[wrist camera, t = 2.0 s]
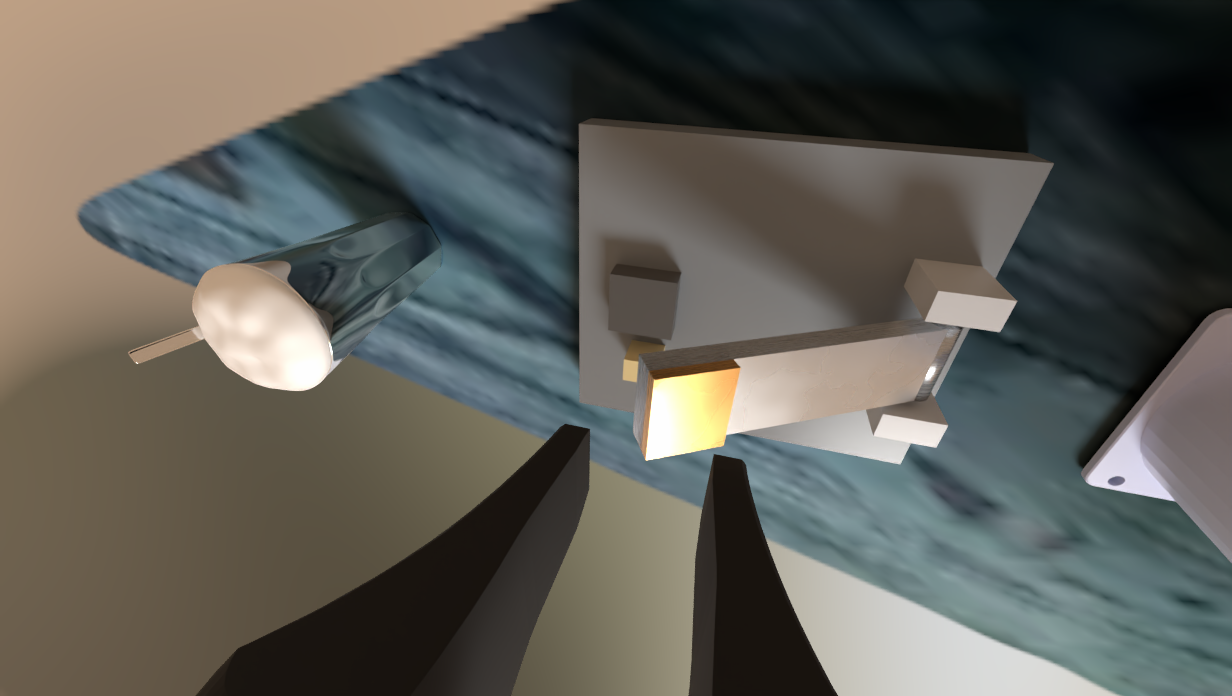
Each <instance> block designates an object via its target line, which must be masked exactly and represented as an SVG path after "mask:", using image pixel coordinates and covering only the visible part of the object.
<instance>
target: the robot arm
mask: <svg viewBox="0 0 1232 696" xmlns="http://www.w3.org/2000/svg"><path fill="white" fill-rule="evenodd" d="M589 460H590V429H588V428H583V427H578V426H573V425H568V424H564V425H563V426H561V427H560V428H559V429H558V430H557V431H556V432H555V433H554V434H553V436H552V437H551V438H550V439H549V440H548V441H547V442H546V443H545V444H544V445H543V446H542V447H541V448H540V449H539V450H538V451H537V452H536V453H535V454H534V455H533V456H532V457H531V458H530V459H529V460H528V461H527V462H526V463H525V464H524V465H523V466H521V467H520V468H519V469H518V470H517V471H516V472H515V473H514V474H513V475H512V476H511V477H510V478H509V479H507V480H506V481H505V482H504V483H503V484H502V485H501V486H500V487H499V488H498V489H496V490H495V491H494V492H493V493H492V494H490V495H489V496H488V497H487V498H486V499H484V500H483V501H482V502H481V503H480V504H478V505H477V506H476V507H475V508H474V509H473V510H471V511H470V512H469V513H468V514H466V515H465V516H464V517H463V518H461V519H460V520H459V521H458V522H456V523H455V524H454V525H452V526H451V527H450V528H449V529H447V530H445V531H444V532H443V533H441V534H440V535H439V536H437V537H436V538H434V539H433V540H432V541H430V542H429V543H427V544H426V545H424V546H423V547H421V548H420V549H418V550H417V551H415V552H414V553H412V554H411V555H409V556H408V557H406V558H405V559H403V560H402V561H400V562H399V563H397V564H396V565H394V566H392V567H391V568H389V569H388V570H386V571H385V572H383V573H381V574H380V575H378V576H376V577H375V578H373V579H371V580H369V581H368V582H366V583H364V584H362V585H360V586H359V587H357V588H355V589H354V590H352V591H350V592H348V593H346V594H345V595H343V596H341V597H339V598H337V599H336V600H334V601H332V602H330V603H329V604H327V605H325V606H323V607H322V608H320V609H318V610H316V611H314V612H312V613H310V614H308V615H306V616H304V617H302V618H300V619H298V620H296V621H294V622H292V623H290V624H288V625H286V626H283V627H281V628H279V629H277V630H275V631H273V632H271V633H270V634H267V635H265V636H263V637H261V638H259V639H257V640H255V641H253V642H251V643H249V644H246V645H244V646H242V647H240V648H238V649H237V650H236V651H235V652H234V653H233V654H232V655H231V657H229V659H228V660H227V661H226V662H225V663H224V664H223V665H222V666H221V667H220V668H219V669H218V670H217V671H216V672H215V673H214V675H213V676H212V677H211V678H210V679H209V681H208V682H207V683H206V684H205V685H204V686H203V688H202V689H201V690H200V691H199V693H198V694H197V695H196V696H511V694H512V690H513V687H514V684H515V681H516V678H517V675H518V672H519V669H520V666H521V663H522V660H523V657H524V654H525V652H526V649H527V646H528V643H529V640H530V637H531V634H532V632H533V629H534V627H535V624H536V622H537V619H538V617H539V614H540V612H541V610H542V607H543V605H544V603H545V600H546V598H547V596H548V593H549V591H550V589H551V587H552V584H553V582H554V580H555V578H556V575H557V573H558V571H559V568H560V566H561V564H562V562H563V559H564V557H565V555H566V553H567V550H568V548H569V546H570V543H571V541H572V539H573V536H574V534H575V532H576V529H577V526H578V523H579V520H580V517H581V514H582V510H583V507H584V504H585V500H586V497H587V494H588V491H589ZM1081 474H1082V477H1083V478H1084V480H1085V481H1086V482H1087V483H1088V484H1090V485H1093V486H1097V487H1102V488H1107V489H1113V490H1118V491H1123V492H1129V493H1134V494H1139V495H1145V496H1150V497H1155V498H1160V499H1166V500H1171V501H1176V502H1177V503H1178V504H1179V505H1180V507H1181V508H1182V509H1183V510H1184V511H1185V512H1186V513H1187V514H1188V515H1189V516H1190V518H1191V519H1192V520H1193V521H1194V522H1195V523H1196V524H1197V525H1198V526H1199V527H1200V529H1201V530H1202V531H1203V532H1204V533H1205V534H1206V535H1207V536H1208V537H1209V539H1210V540H1211V541H1212V542H1213V543H1214V544H1215V545H1216V546H1217V547H1218V548H1219V550H1220V551H1221V552H1222V553H1223V554H1224V555H1225V556H1226V557H1227V558H1228V559H1229V561H1230V562H1231V563H1232V308H1226V309H1222V310H1218V311H1216V312H1214V313H1212V314H1210V315H1209V316H1208V317H1206V318H1205V319H1204V320H1203V322H1202V323H1201V324H1200V325H1199V327H1198V328H1197V329H1196V330H1195V331H1194V333H1193V334H1192V335H1191V336H1190V338H1189V339H1188V340H1187V341H1186V343H1185V344H1184V345H1183V346H1182V348H1181V349H1180V350H1179V351H1178V352H1177V354H1176V355H1175V356H1174V357H1173V359H1172V360H1171V361H1170V362H1169V364H1168V365H1167V366H1166V367H1165V368H1164V370H1163V371H1162V372H1161V373H1160V375H1159V376H1158V377H1157V378H1156V380H1155V381H1154V382H1153V383H1152V385H1151V386H1150V387H1149V388H1148V389H1147V391H1146V392H1145V393H1144V394H1143V396H1142V397H1141V398H1140V399H1139V401H1138V402H1137V403H1136V404H1135V405H1134V407H1133V408H1132V409H1131V410H1130V412H1129V413H1128V414H1127V415H1126V417H1125V418H1124V419H1123V420H1122V422H1121V423H1120V424H1119V425H1118V426H1117V428H1116V429H1115V430H1114V431H1113V433H1112V434H1111V435H1110V436H1109V438H1108V439H1107V440H1106V441H1105V443H1104V444H1103V445H1102V446H1101V447H1100V449H1099V450H1098V451H1097V452H1096V454H1095V455H1094V456H1093V457H1092V459H1091V460H1090V461H1089V462H1088V463H1087V465H1086V466H1085V467H1084V468H1083V470H1082V472H1081ZM1115 476H1116V477H1115ZM1112 477H1114V478H1112ZM689 696H838V695H837V693H836V692H835V690H834V689H833V686H832V685H831V683H830V681H829V679H828V677H827V675H826V673H825V671H824V670H823V668H822V666H821V664H820V662H819V660H818V658H817V656H816V654H815V653H814V651H813V649H812V646H811V644H810V642H809V640H808V638H807V636H806V634H805V632H804V630H803V628H802V626H801V624H800V622H799V620H798V618H797V615H796V613H795V611H794V609H793V607H792V604H791V602H790V600H789V598H788V596H787V593H786V590H785V588H784V586H783V583H782V581H781V579H780V576H779V574H778V571H777V569H776V566H775V563H774V561H773V558H772V556H771V553H770V550H769V547H768V544H767V541H766V539H765V536H764V533H763V530H762V527H761V524H760V521H759V518H758V515H757V511H756V508H755V504H754V501H753V497H752V493H751V489H750V485H749V480H748V475H747V469H746V464H745V463H744V462H743V461H742V460H741V459H736V458H731V457H726V456H721V455H716V454H714V457H713V461H712V466H711V471H710V476H709V481H708V485H707V490H706V495H705V500H704V504H703V509H702V514H701V522H700V529H699V536H698V543H697V551H696V559H695V585H694V610H693V638H692V663H691V676H690V689H689Z"/></svg>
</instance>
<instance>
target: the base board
mask: <svg viewBox="0 0 1232 696" xmlns="http://www.w3.org/2000/svg"><path fill="white" fill-rule="evenodd" d="M1053 164H1054V163H1052V162H1050V161H1047V160H1045V159H1042V158H1040V157H1038V156H1035V155H1033V154H1030V153H1021V152H1008V151H996V150H983V149H971V148H958V147H946V146H933V145H921V144H909V143H896V142H884V141H871V140H859V139H846V138H834V137H821V136H809V135H796V134H784V133H772V132H759V131H747V130H734V129H722V128H709V127H697V126H684V125H672V124H659V123H647V122H634V121H622V120H610V119H597V118H591V119H589V120H586V121H584V122H582V123H580V124H579V352H580V402H581V403H586V404H591V405H596V406H601V407H607V408H612V409H617V410H622V411H627V412H633V413H634V411H635V398H636V386H637V373H638V360H639V354H642V353H650V352H658V351H666V350H673V349H681V348H689V347H697V346H705V345H712V344H720V343H728V342H736V341H744V340H752V339H759V338H767V337H775V336H783V335H791V334H798V333H806V332H814V331H822V330H830V329H838V328H845V327H853V326H861V325H869V324H877V323H884V322H892V321H900V320H908V319H916V318H923V319H924V321H926V322H933V323H940V324H947V325H954V326H961V327H964V328H963V330H962V332H961V334H960V336H959V338H958V340H957V342H956V344H955V346H954V348H953V350H952V352H951V354H950V356H949V358H948V360H947V362H946V364H945V366H944V368H943V370H942V372H941V374H940V376H939V378H938V380H937V382H936V384H935V385H934V387H933V389H932V391H931V393H930V395H929V397H928V399H927V400H926V401H923V402H918V401H910V402H905V403H899V404H894V405H888V406H883V407H877V408H872V409H866V410H861V411H855V412H850V413H844V414H839V415H833V416H828V417H822V418H817V419H811V420H805V421H800V422H794V423H789V424H783V425H778V426H772V427H767V428H761V429H756V430H750V431H745V432H739V433H741V434H746V435H751V436H757V437H762V438H767V439H772V440H777V441H782V442H788V443H793V444H798V445H803V446H808V447H813V448H819V449H824V450H829V451H834V452H839V453H845V454H850V455H855V456H860V457H865V458H870V459H876V460H881V461H886V462H891V463H896V464H901V462H902V460H903V458H904V456H905V454H906V452H907V450H908V448H909V446H910V444H911V443H914V444H919V445H925V446H930V447H935V448H936V447H937V445H938V443H939V441H940V439H941V438H942V436H943V434H944V432H945V430H946V429H947V427H948V424H947V422H946V420H945V418H944V416H943V414H942V412H941V410H940V408H939V406H938V404H937V402H936V400H935V398H934V397H935V395H936V393H937V391H938V389H939V387H940V385H941V383H942V381H943V380H944V378H945V376H946V374H947V372H948V370H949V368H950V366H951V364H952V362H953V360H954V358H955V356H956V354H957V352H958V350H959V348H960V346H961V344H962V342H963V340H964V338H965V337H966V335H967V333H968V331H969V329H970V328H975V329H982V330H989V331H996V332H1000V331H1001V329H1002V328H1003V326H1004V324H1005V322H1006V320H1007V318H1008V317H1009V315H1010V313H1011V311H1012V309H1013V308H1014V306H1015V304H1016V302H1017V301H1016V300H1015V299H1014V298H1013V297H1012V296H1011V295H1010V294H1009V293H1008V291H1007V290H1006V289H1005V288H1004V287H1003V286H1002V285H1001V284H1000V283H999V282H998V281H997V280H996V279H995V278H996V276H997V274H998V272H999V270H1000V268H1001V266H1002V264H1003V262H1004V260H1005V258H1006V256H1007V254H1008V252H1009V250H1010V249H1011V247H1012V245H1013V243H1014V241H1015V239H1016V237H1017V235H1018V233H1019V231H1020V229H1021V227H1022V225H1023V223H1024V221H1025V219H1026V217H1027V215H1028V213H1029V211H1030V209H1031V207H1032V205H1033V204H1034V202H1035V200H1036V198H1037V196H1038V194H1039V192H1040V190H1041V188H1042V186H1043V184H1044V182H1045V180H1046V178H1047V176H1048V174H1049V172H1050V170H1051V168H1052V166H1053Z"/></svg>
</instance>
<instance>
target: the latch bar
mask: <svg viewBox="0 0 1232 696" xmlns="http://www.w3.org/2000/svg"><path fill="white" fill-rule="evenodd" d="M963 328H964V327H961V326H954V325H947V324H940V323H933V322H926V321H924V319H923V318H916V319H908V320H900V321H892V322H884V323H877V324H869V325H861V326H853V327H845V328H838V329H830V330H822V331H814V332H806V333H798V334H791V335H783V336H775V337H767V338H759V339H752V340H744V341H736V342H728V343H720V344H712V345H705V346H697V347H689V348H681V349H673V350H666V351H658V352H650V353H642V354H639V360H638V373H637V386H636V398H635V411H634V424H633V433H634V435H635V437H636V439H637V442H638V444H639V446H640V448H641V451H642V453H643V455H644V457H645V459H646V460H650V459H655V458H661V457H666V456H671V455H677V454H682V453H687V452H693V451H698V450H703V449H709V448H714V447H719V446H723V445H724V441H725V436H726V435H728V434H734V433H739V432H745V431H750V430H756V429H761V428H767V427H772V426H778V425H783V424H789V423H794V422H800V421H805V420H811V419H817V418H822V417H828V416H833V415H839V414H844V413H850V412H855V411H861V410H866V409H872V408H877V407H883V406H888V405H894V404H899V403H905V402H910V401H918V402H923V401H926V400H927V399H928V397H929V395H930V393H931V391H932V389H933V387H934V385H935V384H936V382H937V380H938V378H939V376H940V374H941V372H942V370H943V368H944V366H945V364H946V362H947V360H948V358H949V356H950V354H951V352H952V350H953V348H954V346H955V344H956V342H957V340H958V338H959V336H960V334H961V332H962V330H963Z"/></svg>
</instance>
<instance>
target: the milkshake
mask: <svg viewBox="0 0 1232 696" xmlns="http://www.w3.org/2000/svg"><path fill="white" fill-rule="evenodd" d="M440 267H441V245H440V243H439V241H438V240H437V238H436V236H435V234H434V233H433V231H432V229H431V227H430V226H429V225H428V224H426V223H425V222H423V221H422V220H420V219H419V218H417V217H416V216H414V215H413V214H411V213H410V212H389V213H386V214H383V215H380V216H377V217H374V218H371V219H368V220H365V221H362V222H359V223H356V224H353V225H350V226H347V227H344V228H341V229H338V230H335V231H332V232H329V233H326V234H323V235H320V236H317V237H314V238H311V239H308V240H305V241H302V242H299V243H296V244H293V245H290V246H286V247H283V248H279V249H276V250H273V251H269V252H266V253H263V254H259V255H256V256H252V257H249V258H246V259H242V260H239V261H236V262H232V263H229V264H226V265H221V266H217V267H214V268H212V269H210V270H208V271H207V272H206V273H205V274H204V275H203V276H202V278H201V280H200V282H199V284H198V286H197V288H196V290H195V293H194V296H193V302H192V309H193V313H194V315H195V317H196V319H197V321H198V323H199V326H197V327H194V328H191V329H188V330H186V331H183V332H180V333H177V334H175V335H172V336H169V337H167V338H164V339H161V340H158V341H155V342H153V343H150V344H147V345H144V346H142V347H139V348H136V349H134V350H131V351H129V352H128V354H129V355H130V357H131V358H132V359H133V361H134V362H135V363H136V364H138V363H142V362H145V361H147V360H150V359H153V358H155V357H158V356H161V355H163V354H166V353H168V352H171V351H173V350H176V349H179V348H182V347H184V346H187V345H189V344H192V343H195V342H197V341H200V340H203V339H206V341H207V342H208V344H209V345H210V346H211V347H212V349H213V350H214V351H215V352H216V353H217V355H218V356H219V358H220V359H221V360H222V362H223V363H224V364H225V365H226V366H227V367H228V368H230V369H231V370H233V371H234V372H236V373H237V374H239V375H241V376H242V377H244V378H245V379H247V380H249V381H251V382H253V383H255V384H258V385H261V386H264V387H268V388H274V389H283V390H291V391H302V390H307V389H310V388H313V387H315V386H316V385H318V384H319V383H320V382H321V381H322V380H323V379H324V378H325V377H326V376H327V375H328V374H329V373H330V372H331V371H332V370H333V369H334V368H335V367H336V366H337V365H338V364H339V363H340V362H341V361H342V360H343V359H344V358H345V357H346V356H347V355H348V354H349V353H350V352H351V351H352V350H354V349H355V348H356V347H357V346H358V345H359V344H360V343H361V342H362V341H363V340H364V339H365V338H366V337H367V335H368V334H369V333H370V332H371V331H372V330H373V329H374V328H375V327H376V326H377V325H378V324H379V323H380V322H381V321H382V320H383V319H384V318H385V317H386V316H388V315H389V314H390V313H391V312H392V311H393V310H394V309H395V308H396V307H398V306H399V305H400V304H401V303H402V302H403V301H404V300H405V299H407V298H408V297H409V296H410V295H411V294H412V293H413V292H414V291H415V290H417V289H418V288H419V287H420V286H421V285H422V284H423V283H424V282H426V281H427V280H428V279H429V278H430V277H431V276H432V275H433V274H434V273H435V272H436V271H437V270H438V269H439V268H440Z"/></svg>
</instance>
